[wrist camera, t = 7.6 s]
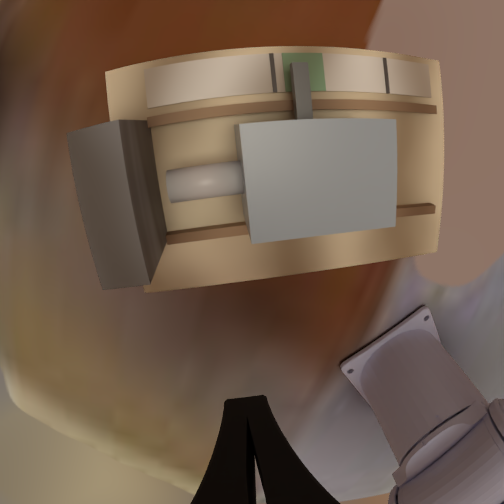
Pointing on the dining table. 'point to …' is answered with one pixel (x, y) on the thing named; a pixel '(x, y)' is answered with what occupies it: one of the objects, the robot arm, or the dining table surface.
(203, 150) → the scale board
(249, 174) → the gauge carriage
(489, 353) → the dining table surface
